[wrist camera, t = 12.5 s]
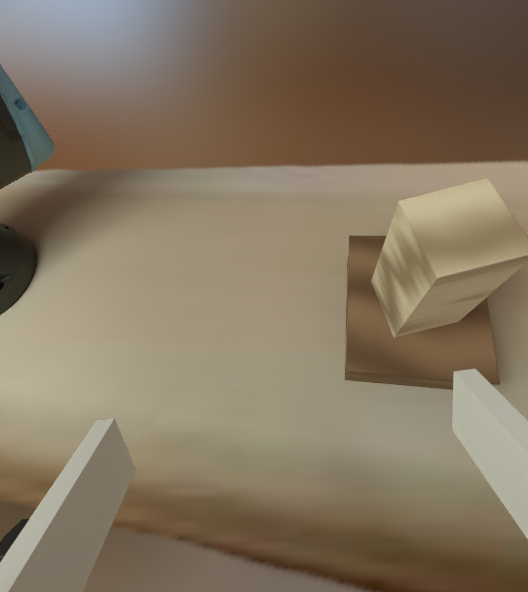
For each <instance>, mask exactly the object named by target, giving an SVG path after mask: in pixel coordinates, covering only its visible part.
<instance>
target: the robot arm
mask: <svg viewBox="0 0 528 592" xmlns="http://www.w3.org/2000/svg"><path fill="white" fill-rule="evenodd" d="M53 153H54V143H53V141H52V139H51V137H50V136H49V134H48V133H47V131H46V130H45V128H44V127H43V125H42V124H41V123H40V121H39V120H38V118H37V117H36V115H35V114H34V112H33V111H32V110H31V108H30V107H29V105H28V104H27V103H26V101H25V100H24V98H23V97H22V95H21V94H20V92H19V91H18V90H17V88H16V86H15V85H14V83H13V82H12V81H11V79H10V78H9V76H8V75H7V73H6V72H5V70H4V69H3V68H2V66H1V65H0V189H2V188H3V187H5V186H7V185H9V184H11V183H12V182H14V181H16V180H18V179H19V178H21V177H23V176H25V175H26V174H28V173H32V172H33V171H34V170H35V168H36V167H37V166H39V165H40V164H42V163H43V162H45V161H46V160H48V159H49V158H50V157H51V156H52V155H53ZM35 263H36V254H35V250H34V247H33V245H32V243H31V242H30V240H29V239H28V238H27V237H25V236H24V235H22V234H21V233H20V232H18V231H17V230H15V229H14V228H12V227H10V226H7V225H5V224H1V223H0V313H2V312H3V311H5V310H6V309H7V308H8V307H10V306H11V305H12V304H13V303H14V302H15V301H16V300H17V299H18V298H19V297H20V295H21V294H22V293H23V291H24V290H25V288H26V287H27V285H28V284H29V282H30V280H31V277H32V275H33V272H34V268H35ZM452 431H453V432H454V433H455V435H456V436H457V438H458V439H459V441H460V442H461V444H462V445H463V446H464V448H465V449H466V451H467V452H468V454H469V455H470V457H471V458H472V459H473V461H474V462H475V464H476V465H477V467H478V468H479V470H480V471H481V472H482V474H483V475H484V477H485V478H486V480H487V481H488V483H489V484H490V486H491V487H492V488H493V490H494V491H495V493H496V494H497V496H498V497H499V499H500V500H501V501H502V503H503V504H504V506H505V507H506V509H507V510H508V512H509V513H510V514H511V516H512V517H513V519H514V520H515V522H516V523H517V525H518V526H519V528H520V529H521V530H522V532H523V533H524V535H525V536H526V538H527V539H528V420H527V419H526V418H525V417H524V416H523V415H522V414H521V413H520V412H519V411H518V410H517V409H516V408H515V407H514V406H513V405H512V404H511V403H510V402H509V401H508V400H507V399H506V398H505V397H504V396H503V395H501V394H500V393H499V392H498V391H497V390H496V389H495V388H494V387H493V386H492V385H491V384H490V383H489V382H488V381H487V380H486V379H485V378H484V377H483V376H482V375H481V374H480V373H479V372H478V371H477V370H476V369H468V370H461V371H454V379H453V413H452ZM135 470H136V468H135V466H134V463H133V461H132V458H131V456H130V454H129V451H128V449H127V447H126V444H125V442H124V439H123V437H122V435H121V432H120V430H119V428H118V425H117V423H116V420H115V418H111V419H104V420H97V421H96V422H95V423H94V425H93V426H92V428H91V429H90V431H89V432H88V434H87V435H86V436H85V438H84V439H83V441H82V442H81V444H80V445H79V447H78V448H77V450H76V451H75V453H74V454H73V456H72V457H71V459H70V460H69V462H68V463H67V465H66V466H65V468H64V469H63V470H62V472H61V473H60V475H59V476H58V478H57V479H56V481H55V482H54V484H53V485H52V487H51V488H50V490H49V491H48V493H47V494H46V496H45V497H44V499H43V500H42V501H41V503H40V504H39V506H38V507H37V509H36V510H35V512H34V513H33V515H32V516H31V518H30V519H22V520H21V521H20V522H19V523H18V524H17V525H16V526H15V527H14V528H13V529H12V530H11V531H10V532H9V533H7V535H5V536H4V537H3V539H2V540H1V542H0V592H82V591H83V589H84V586H85V584H86V582H87V580H88V577H89V575H90V573H91V570H92V568H93V566H94V564H95V562H96V559H97V557H98V555H99V552H100V550H101V548H102V546H103V543H104V541H105V539H106V536H107V534H108V532H109V530H110V527H111V525H112V523H113V520H114V518H115V516H116V514H117V511H118V509H119V507H120V505H121V502H122V500H123V498H124V495H125V493H126V491H127V489H128V486H129V484H130V482H131V479H132V477H133V475H134V473H135Z"/></svg>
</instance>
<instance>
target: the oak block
mask: <svg viewBox="0 0 528 592" xmlns="http://www.w3.org/2000/svg"><path fill="white" fill-rule="evenodd" d="M527 262H528V237H527V235H526V234H525V232H524V231H523V229H522V228H521V226H520V225H519V223H518V222H517V221H516V219H515V218H514V216H513V215H512V213H511V212H510V210H509V209H508V207H507V206H506V204H505V203H504V201H503V200H502V198H501V197H500V195H499V194H498V192H497V191H496V190H495V188H494V187H493V185H492V184H491V182H490V181H489V179H488V178H485V179H481V180H477V181H473V182H470V183H466V184H462V185H458V186H454V187H450V188H447V189H443V190H439V191H435V192H431V193H427V194H423V195H420V196H416V197H412V198H408V199H404V200H400V201H399V202H398V204H397V207H396V210H395V213H394V216H393V219H392V222H391V225H390V228H389V231H388V233H387V236H386V239H385V242H384V245H383V248H382V251H381V254H380V257H379V260H378V262H377V265H376V268H375V271H374V274H373V277H372V280H371V283H372V285H373V288H374V290H375V293H376V295H377V298H378V300H379V303H380V305H381V307H382V310H383V312H384V315H385V317H386V320H387V322H388V325H389V327H390V330H391V332H392V335H393V337H394V338H395V337H399V336H403V335H407V334H411V333H415V332H419V331H423V330H427V329H431V328H435V327H440V326H444V325H448V324H452V323H456V322H459V321H460V320H461V319H462V318H463V317H465V316H466V315H467V314H468V313H469V312H470V311H471V310H473V309H474V308H475V307H476V306H477V305H478V304H480V303H481V302H482V301H483V300H484V299H485V298H486V297H488V296H489V295H490V294H491V293H492V292H493V291H494V290H496V289H497V288H498V287H499V286H500V285H501V284H502V283H504V282H505V281H506V280H507V279H508V278H509V277H511V276H512V275H513V274H514V273H515V272H516V271H517V270H519V269H520V268H521V267H522V266H523V265H524V264H525V263H527Z"/></svg>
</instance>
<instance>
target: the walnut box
mask: <svg viewBox="0 0 528 592" xmlns="http://www.w3.org/2000/svg"><path fill="white" fill-rule="evenodd" d="M385 239H386V236H350V237H349V257H348V264H347V309H346V353H345V380H352V381H363V382H374V383H385V384H396V385H407V386H418V387H429V388H440V389H451V390H453V379H454V371H461V370H468V369H476V370H477V371H478V372H479V373H480V374H481V375H482V376H483V377H484V378H485V379H486V380H487V381H488V382H489V383H490V384H497V385H498V384H500V381H499V375H498V368H497V362H496V356H495V349H494V343H493V336H492V330H491V323H490V317H489V310H488V304H487V297H486V298H485V299H484V300H483V301H482V302H481V303H480V304H478V305H477V306H476V307H475V308H474V309H473V310H471V311H470V312H469V313H468V314H467V315H466V316H465V317H463V318H462V319H461V320H460V321H459V322H456V323H452V324H448V325H444V326H440V327H435V328H431V329H427V330H423V331H419V332H415V333H411V334H407V335H403V336H399V337H395V338H394V337H393V335H392V332H391V330H390V327H389V325H388V322H387V320H386V317H385V315H384V312H383V310H382V307H381V305H380V303H379V300H378V298H377V295H376V293H375V290H374V288H373V285H372V283H371V280H372V277H373V274H374V271H375V268H376V265H377V262H378V260H379V257H380V254H381V251H382V248H383V245H384V242H385Z"/></svg>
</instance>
